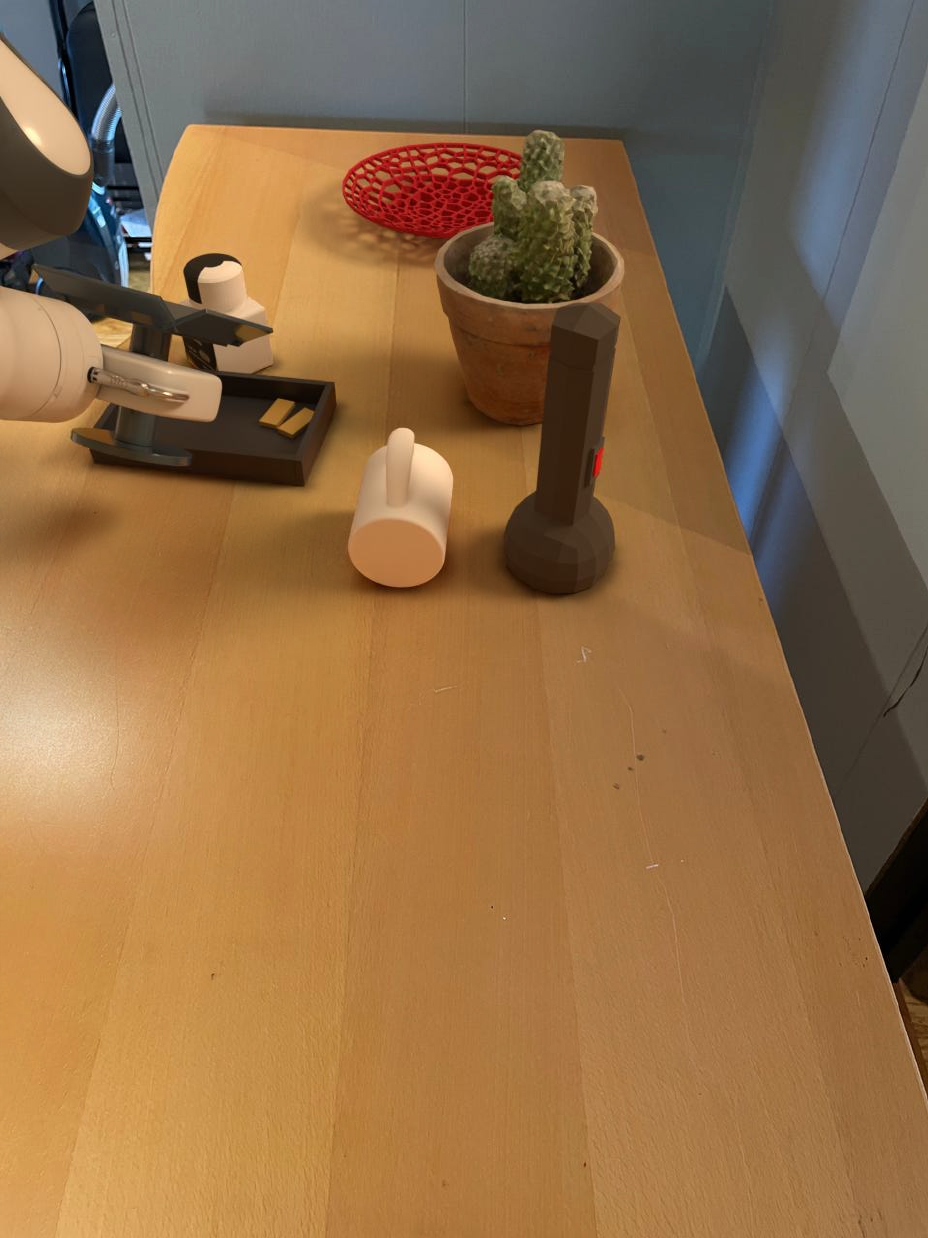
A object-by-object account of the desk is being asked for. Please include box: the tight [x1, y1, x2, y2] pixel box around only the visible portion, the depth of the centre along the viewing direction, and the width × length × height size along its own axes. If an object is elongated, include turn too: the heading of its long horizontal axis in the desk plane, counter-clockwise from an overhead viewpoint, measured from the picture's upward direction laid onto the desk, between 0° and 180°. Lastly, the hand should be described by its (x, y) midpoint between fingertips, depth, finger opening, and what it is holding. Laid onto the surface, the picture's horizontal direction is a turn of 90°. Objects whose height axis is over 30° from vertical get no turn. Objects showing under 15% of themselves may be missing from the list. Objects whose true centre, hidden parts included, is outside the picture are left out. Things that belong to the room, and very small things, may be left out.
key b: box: [278, 408, 314, 439], centre depth 97 cm, size 4×2×1 cm, turn 147°
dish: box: [30, 263, 274, 466], centre depth 79 cm, size 16×16×13 cm
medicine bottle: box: [177, 252, 274, 374], centre depth 101 cm, size 7×7×12 cm
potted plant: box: [433, 129, 626, 427], centre depth 93 cm, size 18×19×25 cm
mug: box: [347, 427, 454, 588], centre depth 81 cm, size 8×10×12 cm
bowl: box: [341, 141, 522, 239], centre depth 129 cm, size 29×30×5 cm
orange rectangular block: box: [259, 398, 295, 429], centre depth 98 cm, size 4×2×1 cm, turn 161°
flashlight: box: [503, 303, 622, 595], centre depth 76 cm, size 10×25×10 cm
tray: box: [88, 367, 338, 487], centre depth 96 cm, size 22×14×3 cm, turn 82°
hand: (150, 375), depth 80 cm, fingers closed on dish, 3 cm apart
